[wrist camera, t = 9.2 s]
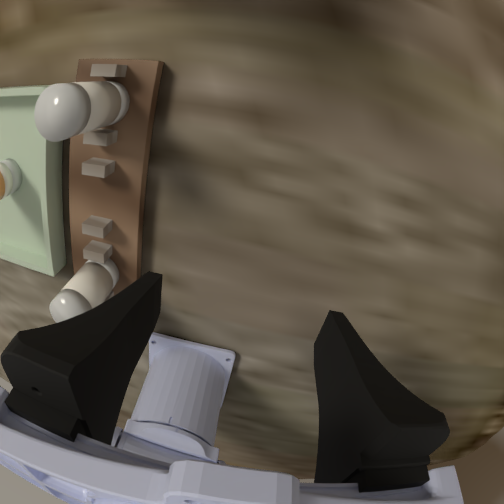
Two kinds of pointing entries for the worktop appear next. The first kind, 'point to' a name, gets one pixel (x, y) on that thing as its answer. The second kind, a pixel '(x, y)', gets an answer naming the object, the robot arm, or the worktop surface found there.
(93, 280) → the cylinder
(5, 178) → the marked fuse
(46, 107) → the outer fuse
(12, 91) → the tray
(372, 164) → the worktop surface
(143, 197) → the fuse holder
